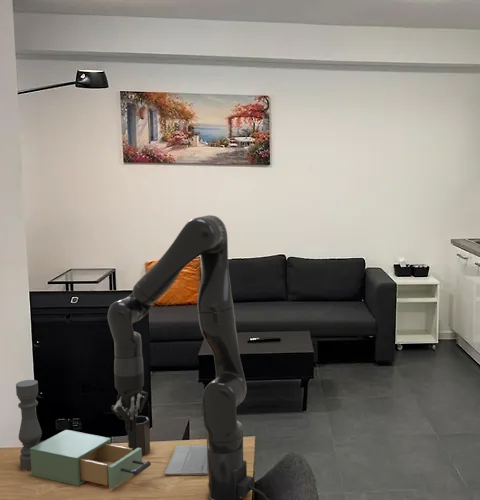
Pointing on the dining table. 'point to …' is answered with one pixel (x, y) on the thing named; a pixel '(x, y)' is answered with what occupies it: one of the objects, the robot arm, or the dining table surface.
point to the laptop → (189, 460)
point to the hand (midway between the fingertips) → (131, 431)
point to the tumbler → (140, 435)
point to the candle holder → (28, 420)
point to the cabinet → (64, 455)
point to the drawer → (112, 465)
